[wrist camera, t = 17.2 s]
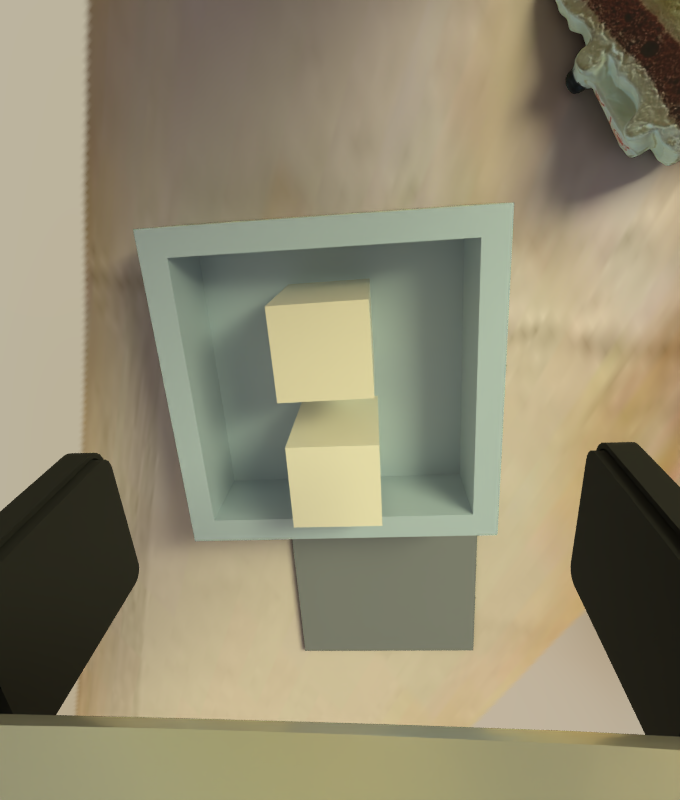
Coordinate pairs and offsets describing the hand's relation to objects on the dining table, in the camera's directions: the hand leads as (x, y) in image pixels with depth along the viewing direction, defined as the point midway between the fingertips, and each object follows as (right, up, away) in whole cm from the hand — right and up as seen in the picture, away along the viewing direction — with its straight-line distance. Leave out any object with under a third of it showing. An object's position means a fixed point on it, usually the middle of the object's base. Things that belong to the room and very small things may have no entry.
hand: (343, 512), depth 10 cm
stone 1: (0, +6, +16) cm, 17 cm away
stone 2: (0, +1, +18) cm, 18 cm away
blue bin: (0, +4, +17) cm, 17 cm away
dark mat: (+3, -9, +22) cm, 24 cm away
